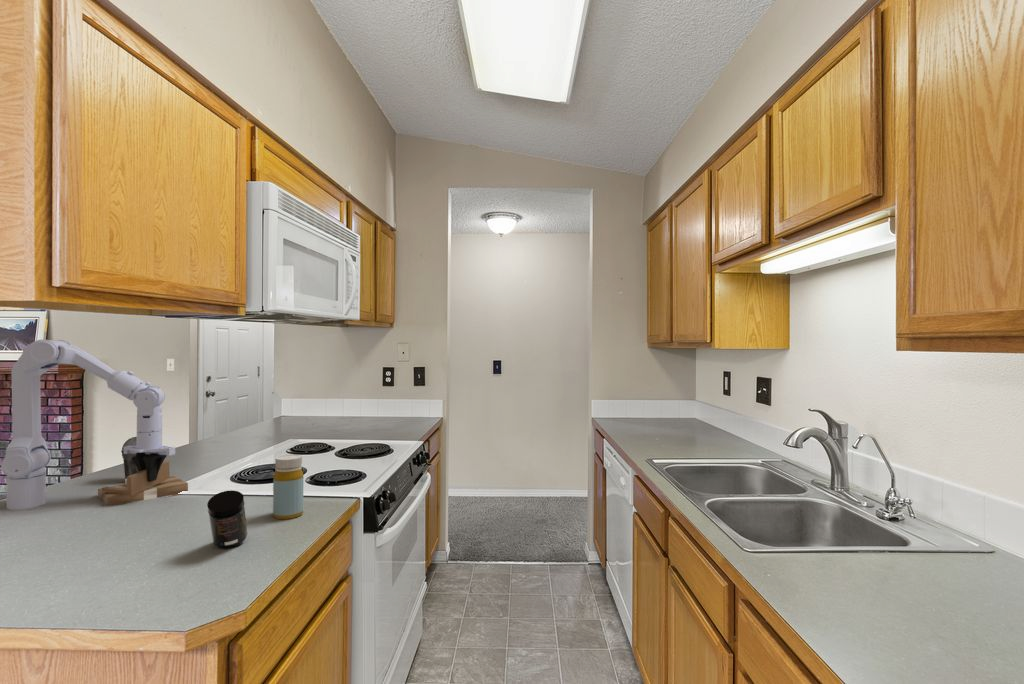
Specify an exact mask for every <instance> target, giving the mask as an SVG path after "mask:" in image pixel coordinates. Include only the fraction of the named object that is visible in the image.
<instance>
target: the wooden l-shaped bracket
mask: <svg viewBox="0 0 1024 684" xmlns="http://www.w3.org/2000/svg"><path fill="white" fill-rule="evenodd" d="M170 477H171V475H170V461H168V460H164V461H163V463H162V465H161V467H160V469H159V472H158V475H157V479H156V480H155V481H151V482H148V480H147V469H145V470H142V471H140V472H137V473H135V474H132V475H130V476H127V489H121V488H114V487H112V486H106V485H105V486H103V487H101V488H102V492H110V493H117V494H125V495H134V494H136V493H138V492H140V491H143V490H145V489H147V488H149V487H151V486H154V485H156V484H158V483H160V482H163V481H165V480H167V479H169V478H170Z"/></svg>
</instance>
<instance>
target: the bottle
mask: <svg viewBox="0 0 1024 684" xmlns="http://www.w3.org/2000/svg"><path fill="white" fill-rule="evenodd" d="M274 461H275V463H274V464H275V465H274V466H275V469H274V470H275V472H274V475H273V480H272V481H273V488H272V491H273V494H272V498H273V499H272V504H273V505H272V516H273V517H274V519H277V520H292V519H296V518H299V517H300V516H302V515H303V513H304V472H303V469H302V468H303V466H302V465H303V463H302V462H303V456H302V455H301V454H285V455H284V454H283V455H279V456H276V457H275V460H274Z"/></svg>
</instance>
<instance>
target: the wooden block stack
mask: <svg viewBox="0 0 1024 684" xmlns="http://www.w3.org/2000/svg"><path fill="white" fill-rule="evenodd" d="M111 487H114V488H121V489H127V479H125V478H124V484H120V485H113V486H111ZM102 488H103V487H101V488H98V489H97V496H98V498H100V499H101V500H102V501H103V502H104V503H105V504H106V505H108V507H111V506H118V505H124V504H130V503H134V502H139V501H140V502H141V501H145V500H151V499H157V498H162V497H164V499H165V498H171V497H177V496H181V495H184V494H178V493H180V492H182V491H188V492H189V483H188V482H187V481H185V480H182V479H181V478H178V477H177V476H174V475H173V476H170V478H169V479H167V480H165V481H163V482H160V483H158V484H156V485H154V486H151V487H149V488H147V489H145V490H143V491H140V492H138V493H136V494H134V495H125V494H117V493H110V492H102Z"/></svg>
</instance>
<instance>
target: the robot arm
mask: <svg viewBox="0 0 1024 684" xmlns="http://www.w3.org/2000/svg"><path fill="white" fill-rule="evenodd" d="M59 365H73V366H77V367H79V368H81V369H83V370H85V371H87V372H89V373H90V374H93V375H94V376H96V377H99V378H100V379H102V380H103V381H105V382H106V383H107V387H108V389H110V390H111V391H113V392H115V393H116V394H119V395H121V396H122V397H124V398H126V399H128V400H129V401H133V405H134V406H135V407H136V408H137V409H136V437H137V445H136V446H126V447H124V454H129V453H130V454H136V456H134V457H132V461H133V462H134V463H135V465H136V466H137V468H138V471H139V472H140V471H142V470H145V469H147V480H148V482H151V481H155V480H156V479H157V475H158V472H159V469H160V467H161V465H162V463H163V462H164V461H165V459H166V458H167V456H168V457H170V456H173V455H174V456H175V455H176V447H174V446H173V447H172V446H168V445H163V403H164V401H165V398H166V397H165V396H166V395H165V393H164V391H163V389H161V388H160V386H156V385H155V386H154V385H152V383H151V382H149V381H146V382H145V381H144V380H142V379H141V378H139V377H137V376H135V372H133V371H132V370H129V371H126V370H123V369H122V370H115V369H114V368H112V367H110V365H108V364H106V363H104V362H103V361H101V360H100V359H98V358H96V357H95V356H94V355H92V354H90V353H88V352H87V351H85V350H84V349H83V348H80V346H76V345H74V344H71V343H70V342H69V341H67V340H63V339H55V340H53V339H52V340H50V339H37V340H34V341H33V342H31V343H30V344H28V345H26V346H24V347H23V348H22V353H21V355H20V356H19V357H18V359H17V361H16V362H15V363H14V365H13V367H12V368H11V414H12V415H11V416H12V417H11V419H12V420H11V421H12V422H11V423H12V425H11V427H12V429H11V430H12V439H11V441H10V443H9V444H8V445H7V446H6V448H5V456H4V458H3V459H2V462H1V464H0V467H1V471H2V473H3V474H4V475H6V509H7V510H10V511H19V510H26V509H27V510H28V509H33V508H38V507H41V506H42V505H45V504H46V495H47V493H46V487H47V486H46V482H47V481H46V480H47V479H46V478H47V471H46V467H47V466H48V465H49V463H50V462H51V458H52V457H51V456H52V455H51V452H50V450H49V449H48V447H47V442H46V440H45V438H44V437H43V436H42V411H41V410H42V408H41V407H42V406H41V405H42V404H41V403H42V401H41V395H42V394H41V376H42V375H44V374H46V373H47V372H48V371H49V370H51V369H52V368H53V367H56V366H59Z"/></svg>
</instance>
